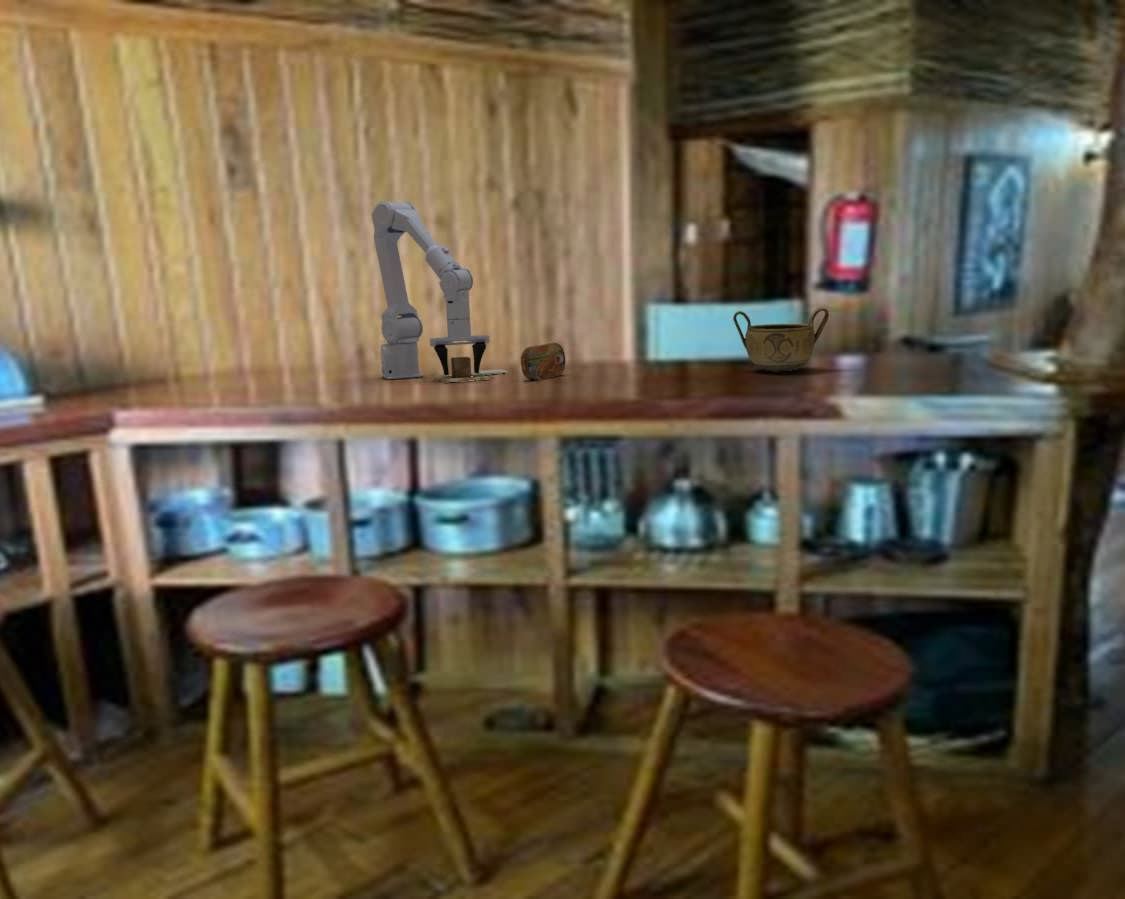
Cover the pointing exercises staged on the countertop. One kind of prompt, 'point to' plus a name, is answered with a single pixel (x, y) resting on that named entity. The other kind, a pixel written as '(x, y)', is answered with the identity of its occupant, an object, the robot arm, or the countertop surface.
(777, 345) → the ceramic bowl
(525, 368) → the tin
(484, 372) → the ceramic pad
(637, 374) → the countertop surface
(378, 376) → the countertop surface
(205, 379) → the countertop surface
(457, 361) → the walnut block
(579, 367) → the countertop surface
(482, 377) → the pocket board
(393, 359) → the robot arm
